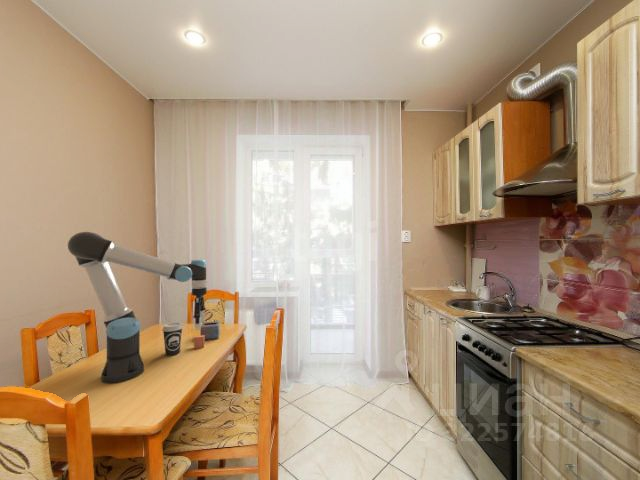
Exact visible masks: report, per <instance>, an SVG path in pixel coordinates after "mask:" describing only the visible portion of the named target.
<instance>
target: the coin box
mask: <svg viewBox="0 0 640 480" xmlns="http://www.w3.org/2000/svg"><path fill="white" fill-rule="evenodd" d="M220 322H221V321H220V320H217V321H215V320H213V321H205V322H201V329H200V330H199V331H200V336H202V335H204V341H209V340H210V341H211V340H218V339H220V335H221V323H220Z"/></svg>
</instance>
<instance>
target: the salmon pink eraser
mask: <svg viewBox="0 0 640 480" xmlns="http://www.w3.org/2000/svg"><path fill="white" fill-rule="evenodd" d="M205 346H206V345H205V340H204V335H202V336H201V335H194V337H193V349H194V350H195V349H203V348H205Z"/></svg>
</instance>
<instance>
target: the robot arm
mask: <svg viewBox="0 0 640 480" xmlns="http://www.w3.org/2000/svg"><path fill="white" fill-rule="evenodd" d="M67 249H68V252H69V253H70V254H71V255H72V256H74V257H75V259H76V261H77V264H78V265H79V267H81V268H84V269H85V272H86V273H87V275H88V278H89V280H90V282H91V283H90V284H91V285H92V287H93V289H94V292H95V294H96V297H97V300H98V301H99V304H100V306H101V308H102V311H103V313H104V315H105V317H104V318H103V320H102V322H103V324H104V326H105V328H106V330H105V334H106V361H105V364H104V366H103V369H102V372H101V376H100V377H101V378H100V380H101V383H105V384H115V383H121V382H125V381H128V380H131V379H134V378H136V377H139V376H140V375H141V374H143V373H144V371H145V363H144V361H143V359H142V357H141V356H142V355H141V354H140V353H141V352H140V334H141V333H140V329H141V324H140V320H139V319H138V318H137V317H136V315H135V312H134V311H133V310H134V309H132V308H130V307H128V306H127V304H126V301H125V298H124V296H123V294H122V291H121V289H120V287H119V285H118V281H117V279H116V276H115V274H114V272H113V270H112V267H111V264H110V263H113V264H116V265H120V266H124V267H127V268H132V269H136V270H139V271H142V272H146V273H150V274H153V275H157V276H160V277H164V278H166V279H167V280H175V281H178V282H180V283H186V282H189V281H190V280H191V295H192V296H195V298H194V314H193V316H192V318H193V319H194V330H195V331H200V329H201V325H202V323H203V322H206V321H205V311H206V307H205V306H206V305H205V297H204V296H205V295H207V294H208V293H207V291H208V289H207V284H208V280H207V262H206V260H205V259H192V260H191V262H190V263H187V264H186V263H183V264H179V263H176V262H172V261H170V260H166V259H163V258H160V257H157V256H153V255H149V254H147V253H143V252H141V251H140V252H139V251H136V250H134V249H130V248H127V247H123V246H121V245H117V244H115V242H114V241H112V240H109V239H106V238H104V237H103V236H101V235H100V234H98V233H95V232H90V231H81V232H77V233H75V234H73V235H72V236H71V237H70V238H69V240H68V242H67Z"/></svg>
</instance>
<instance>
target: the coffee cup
mask: <svg viewBox="0 0 640 480" xmlns="http://www.w3.org/2000/svg"><path fill="white" fill-rule="evenodd" d="M183 328H184V326H183V324H182V323H181V322H176V321H175V322H170V323H166V324H164V326H163V327H162V330H161V331H163V340H164V342H163V343H164V351H165V356H166V357H172V356H177V355H179V354H180V352H181V343H182V332H183Z"/></svg>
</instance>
